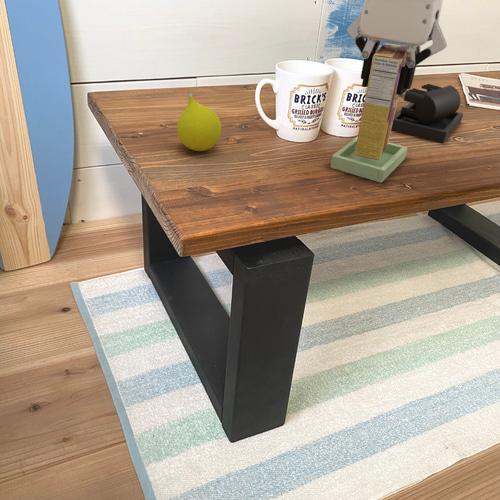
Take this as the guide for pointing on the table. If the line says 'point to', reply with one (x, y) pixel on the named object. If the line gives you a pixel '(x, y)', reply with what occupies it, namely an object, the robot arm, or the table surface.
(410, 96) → the end cap
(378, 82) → the candy box
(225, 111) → the table surface
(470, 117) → the table surface
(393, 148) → the sage tray
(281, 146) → the table surface
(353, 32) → the robot arm
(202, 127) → the ornament
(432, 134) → the charcoal tray
